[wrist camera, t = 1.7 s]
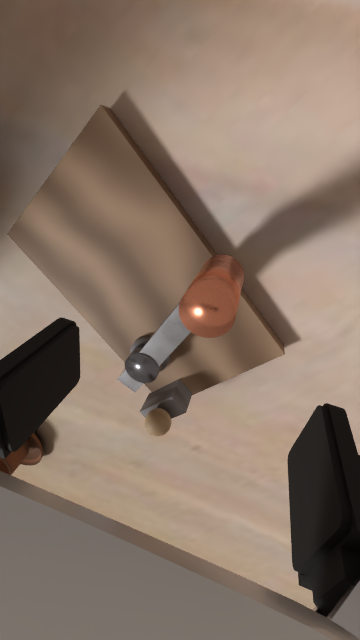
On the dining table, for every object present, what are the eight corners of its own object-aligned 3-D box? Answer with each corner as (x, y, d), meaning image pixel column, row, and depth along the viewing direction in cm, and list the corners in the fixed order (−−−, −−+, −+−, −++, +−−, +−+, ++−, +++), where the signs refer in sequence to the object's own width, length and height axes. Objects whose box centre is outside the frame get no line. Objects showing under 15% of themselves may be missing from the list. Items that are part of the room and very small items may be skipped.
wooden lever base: (166, 399, 36) (145, 447, 30) (15, 234, 31) (-48, 251, 25) (283, 345, 28) (288, 395, 22) (110, 108, 23) (51, 86, 17)
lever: (145, 384, 33) (111, 446, 25) (120, 366, 32) (78, 422, 25) (255, 267, 23) (249, 312, 16) (221, 239, 23) (199, 272, 16)
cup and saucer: (32, 463, 55) (7, 495, 49) (-19, 424, 53) (-50, 452, 47) (59, 442, 48) (34, 476, 43) (3, 397, 47) (-30, 426, 41)
